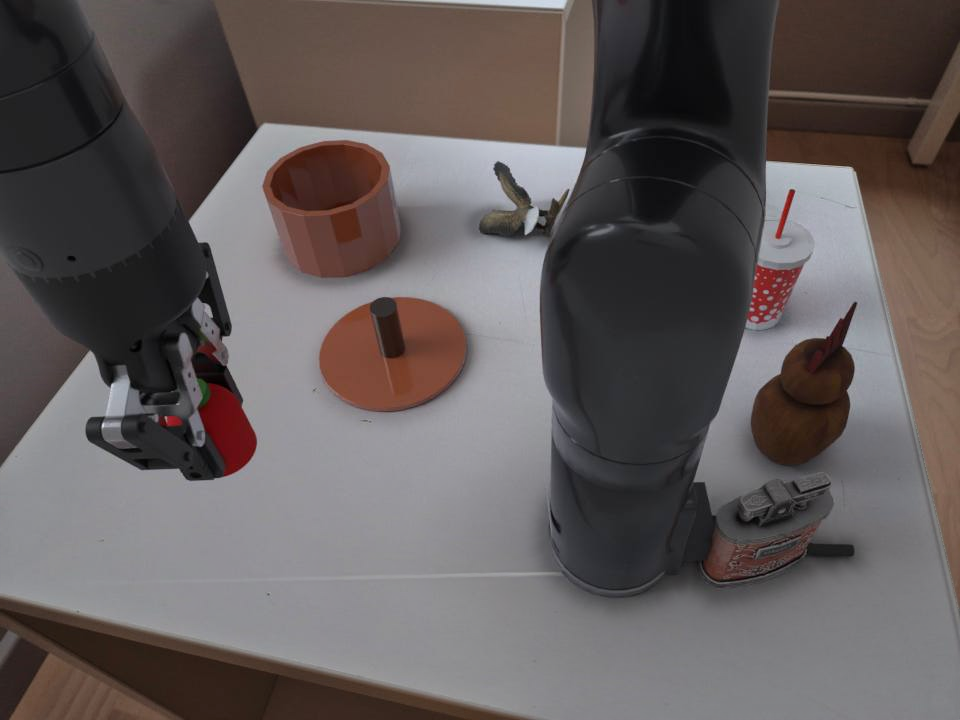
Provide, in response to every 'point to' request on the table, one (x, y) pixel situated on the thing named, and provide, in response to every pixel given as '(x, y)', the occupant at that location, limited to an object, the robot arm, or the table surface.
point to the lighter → (766, 531)
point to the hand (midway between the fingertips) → (217, 438)
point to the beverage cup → (778, 267)
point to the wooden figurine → (806, 399)
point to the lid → (392, 354)
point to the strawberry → (225, 425)
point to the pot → (333, 207)
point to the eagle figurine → (518, 209)
